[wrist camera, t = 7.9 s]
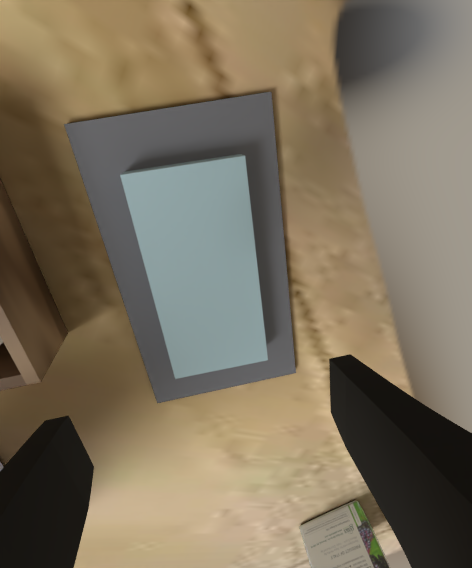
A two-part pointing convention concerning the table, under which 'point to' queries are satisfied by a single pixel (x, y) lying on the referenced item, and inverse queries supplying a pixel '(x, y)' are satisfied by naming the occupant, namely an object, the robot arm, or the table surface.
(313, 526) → the syrup box
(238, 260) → the lid
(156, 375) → the mat
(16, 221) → the crate
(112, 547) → the table surface
